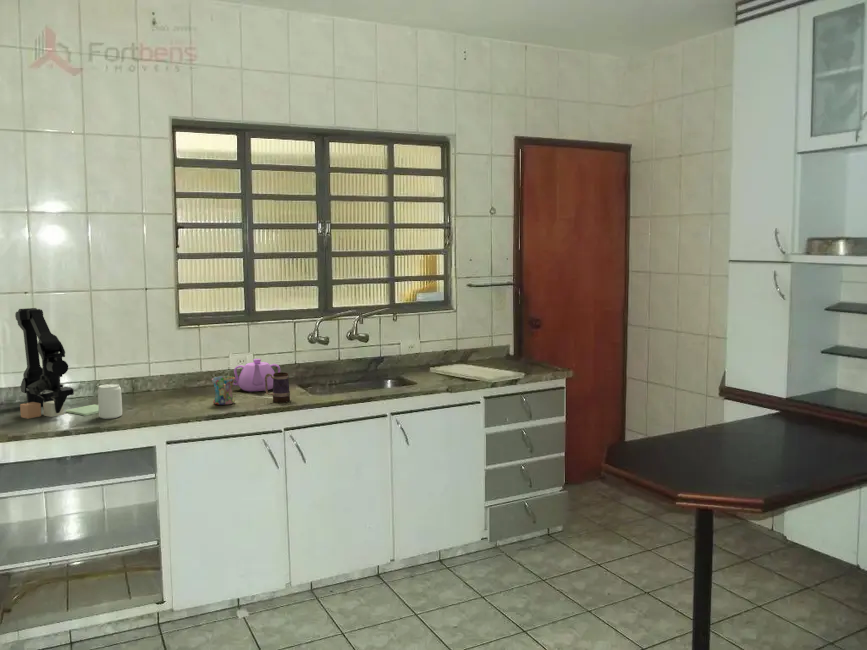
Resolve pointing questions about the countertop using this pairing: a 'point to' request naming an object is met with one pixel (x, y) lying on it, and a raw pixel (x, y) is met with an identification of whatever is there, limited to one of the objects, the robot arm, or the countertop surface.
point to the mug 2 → (279, 387)
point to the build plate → (85, 410)
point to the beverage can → (109, 401)
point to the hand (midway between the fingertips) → (53, 412)
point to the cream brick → (51, 409)
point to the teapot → (255, 376)
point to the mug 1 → (223, 390)
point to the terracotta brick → (30, 410)
